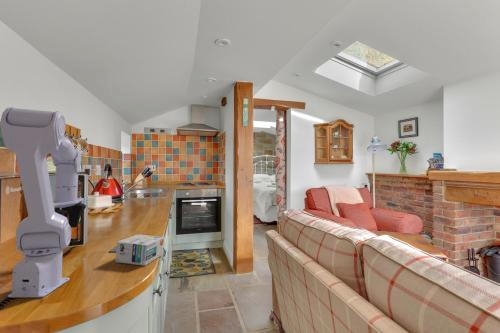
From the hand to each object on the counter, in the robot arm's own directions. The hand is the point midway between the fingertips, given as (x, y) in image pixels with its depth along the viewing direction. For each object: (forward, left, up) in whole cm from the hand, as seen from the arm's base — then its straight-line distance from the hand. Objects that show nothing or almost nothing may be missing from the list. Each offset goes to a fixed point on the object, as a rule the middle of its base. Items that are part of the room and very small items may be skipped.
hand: (65, 230), depth 77 cm
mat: (+17, -13, -10) cm, 23 cm away
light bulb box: (+6, -16, -7) cm, 19 cm away
